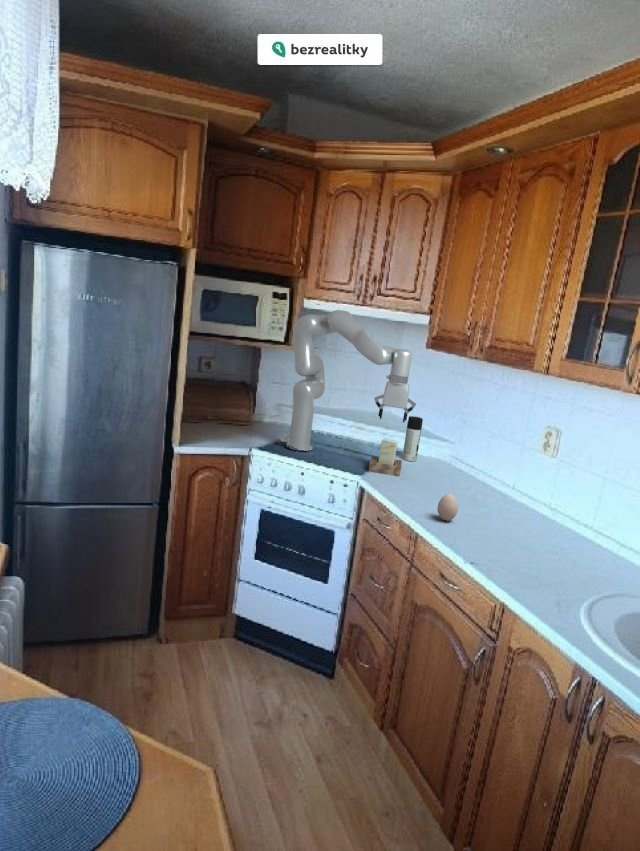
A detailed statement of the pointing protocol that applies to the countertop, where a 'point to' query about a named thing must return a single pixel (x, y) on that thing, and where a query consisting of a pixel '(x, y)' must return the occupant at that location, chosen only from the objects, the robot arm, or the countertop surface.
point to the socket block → (385, 467)
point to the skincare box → (388, 451)
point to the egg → (447, 507)
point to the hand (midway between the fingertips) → (392, 420)
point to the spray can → (412, 438)
